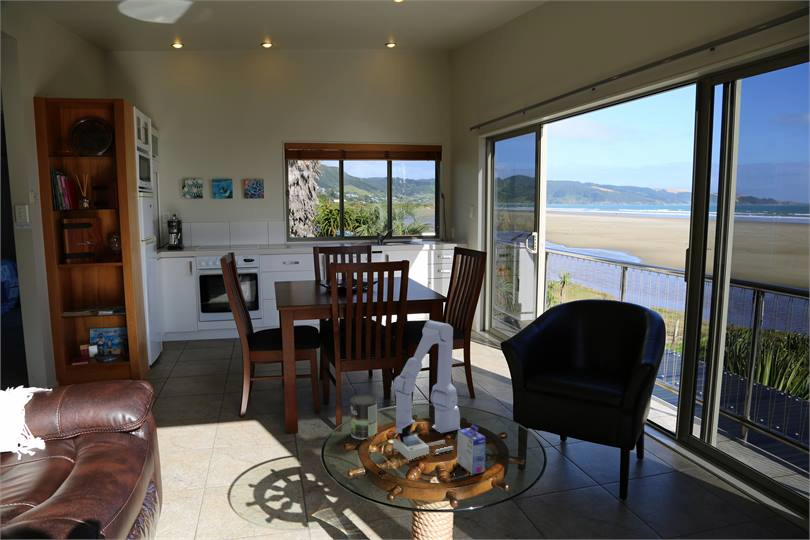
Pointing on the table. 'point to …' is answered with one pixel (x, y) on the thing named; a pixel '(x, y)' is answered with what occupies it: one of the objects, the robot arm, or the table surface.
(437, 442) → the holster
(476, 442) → the ink cartridge box
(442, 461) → the table surface
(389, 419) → the table surface
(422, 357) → the robot arm
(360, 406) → the coffee can
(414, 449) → the port
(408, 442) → the plug
